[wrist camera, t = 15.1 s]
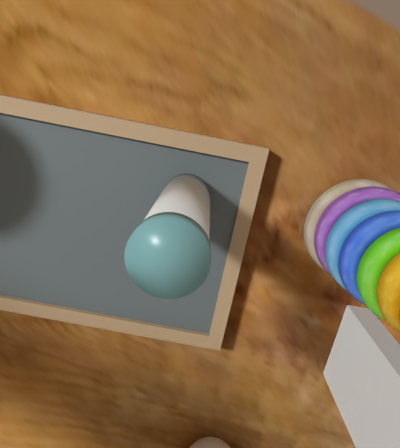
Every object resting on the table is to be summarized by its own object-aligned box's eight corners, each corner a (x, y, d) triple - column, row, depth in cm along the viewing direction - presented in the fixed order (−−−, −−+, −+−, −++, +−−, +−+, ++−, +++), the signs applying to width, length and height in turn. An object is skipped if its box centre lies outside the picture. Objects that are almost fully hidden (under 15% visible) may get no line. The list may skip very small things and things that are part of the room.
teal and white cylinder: (158, 215, 28) (119, 290, 16) (166, 167, 27) (130, 210, 15) (206, 224, 28) (201, 305, 16) (216, 177, 27) (219, 227, 15)
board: (-29, 294, 32) (-40, 302, 31) (-28, 88, 27) (-41, 87, 26) (219, 340, 32) (220, 350, 31) (266, 147, 27) (269, 148, 26)
